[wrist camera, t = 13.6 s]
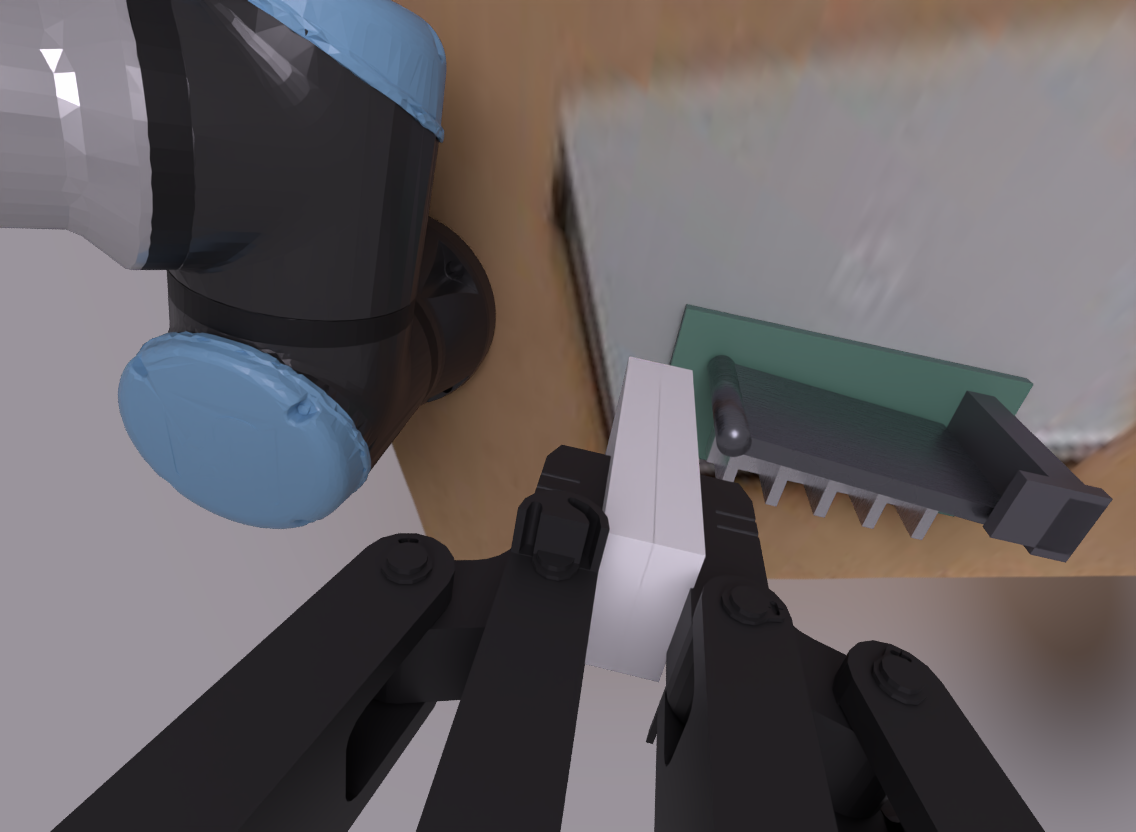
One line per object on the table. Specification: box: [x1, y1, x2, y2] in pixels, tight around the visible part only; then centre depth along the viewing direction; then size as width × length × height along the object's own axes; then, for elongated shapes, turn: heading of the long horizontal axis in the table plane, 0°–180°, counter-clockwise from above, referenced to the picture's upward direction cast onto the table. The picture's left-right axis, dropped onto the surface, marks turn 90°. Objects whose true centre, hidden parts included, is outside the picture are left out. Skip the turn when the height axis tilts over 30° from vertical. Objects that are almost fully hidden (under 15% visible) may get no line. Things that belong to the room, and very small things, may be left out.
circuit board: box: [670, 304, 1033, 517], centre depth 49 cm, size 25×12×1 cm, turn 80°
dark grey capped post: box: [947, 391, 1112, 562], centre depth 41 cm, size 4×4×14 cm
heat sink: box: [706, 425, 939, 540], centre depth 47 cm, size 16×5×6 cm, turn 80°
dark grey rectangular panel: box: [707, 355, 1001, 524], centre depth 42 cm, size 18×2×11 cm, turn 76°
